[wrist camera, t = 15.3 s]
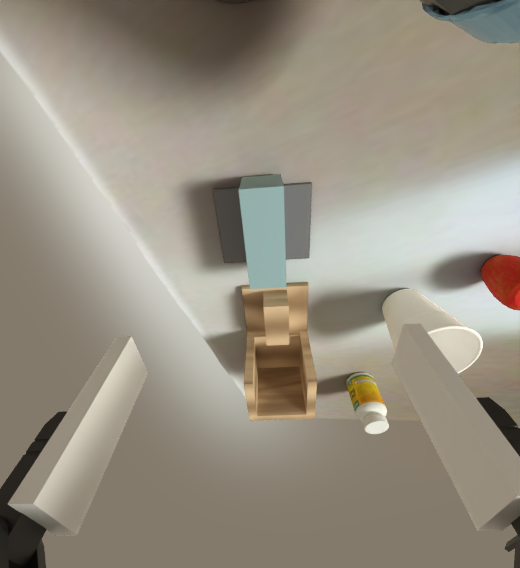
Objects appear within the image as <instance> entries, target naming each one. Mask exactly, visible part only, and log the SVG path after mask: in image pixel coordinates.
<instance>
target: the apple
mask: <svg viewBox="0 0 520 568" xmlns="http://www.w3.org/2000/svg"><path fill="white" fill-rule="evenodd" d="M480 271H481V276H482V279H483V281H484V282H485V284H486V286H487V287H488V289H489V290H490V292H491V293H492V294H493V296H494V297H495V298H496V299H498V300H499V301H500V302H501V303H502V304H504V305H505V306H507V307H509V308H511V309H514V310H520V257H517V256H511V255H497V256H495V257H492V258H491V259H489V260H488V261H486V263H485V264H484V265H483V266H482V268H481V270H480Z"/></svg>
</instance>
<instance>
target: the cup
mask: <svg viewBox="0 0 520 568" xmlns="http://www.w3.org/2000/svg"><path fill="white" fill-rule="evenodd" d="M382 311H383V315H384V318H385V321H386V324H387V327H388V330H389V333H390V336H391V339H392V343H393V346H394V349H395V351H396V348H397V344H398V341H399V338H400V334H401V331H402V328H403V325H404V324H418V323H420V324H421V325H422V326H423V328H424V329H425V330H426V332H427V333H428V334H429V336H430V337H431V338H432V340H433V341H434V342H435V344H436V345H437V346H438V348H439V349H440V351H441V352H442V353H443V355H444V356H445V357H446V359H447V360H448V361H449V363H450V364H451V365H452V367H453V368H454V369H455V371H456V372H457V373H460V372H462V371H463V370H465V369H466V368H468V367H469V366H470V365H472V364H473V363H474V362H475V361H476V359H477V358H478V357H479V355H480V353H481V351H482V348H483V341H482V339H481V336H480V335H479V334H478V333H477V332H476V331H474V330H473V329H471V328H468V327H466V326H465V325H463V324H462V323H461V322H459V321H458V320H456V319H455V318H454V317H452V316H451V315H449V314H448V313H447V312H445V311H444V310H442V309H441V308H440V307H438V306H437V305H436V304H434V303H433V302H432V301H430V300H429V299H428V298H426V297H425V296H424V295H422V294H421V293H419V292H418V291H416V290H413V289H402V290H398V291H396V292H394V293H392V294H391V295H389V296H388V297H387V298H386V300H385V301H384V303H383V306H382Z"/></svg>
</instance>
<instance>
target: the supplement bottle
mask: <svg viewBox="0 0 520 568" xmlns="http://www.w3.org/2000/svg"><path fill="white" fill-rule="evenodd" d="M347 388H348V391H349V394H350V397H351V400H352V404H353V407H354V410H355V413H356V416H357V418H358V419H359V420H361V421H362V422H363V426H364V429H365V431H366V432H367V433H370V434H379V433H382V432H384V431H386V430H387V429H388V427H389V425H388V422H387V419H386V418H385V416H386V413H387V410H386V407H385V404H384V402H383V400H382V397H381V395H380V393H379V390H378V388H377V385H376V383H375V381H374V378H373V377H372V376H371V375H370V374H368V373H364V372H360V373H356V374H353V375H351V376H350V377H349V378H348V379H347Z"/></svg>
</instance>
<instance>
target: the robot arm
mask: <svg viewBox="0 0 520 568" xmlns="http://www.w3.org/2000/svg"><path fill="white" fill-rule="evenodd" d="M216 1H220V2H226V3H241V2H247V1H250V0H216ZM420 1H421V2H422V6H423V9H424V10H425V11H426V12H427V13H428V14H429V15H430V16H432V17H434V18H435V19H438V20H443V21H450V22H452V23H453V24H455V25H456V26H458V27H459V28H461V29H462V30H464V31H465V32H467V33H469V34H470V35H472V36H473V37H475V38H476V39H478V40H481V41H483V42H487V43H516V42H520V0H420ZM392 365H393V367H394V369H395V371H396V373H397V375H398V377H399V379H400V381H401V383H402V385H403V387H404V389H405V390H406V392H407V394H408V396H409V398H410V400H411V402H412V404H413V406H414V408H415V410H416V412H417V414H418V416H419V418H420V420H421V422H422V424H423V426H424V427H425V429H426V431H427V433H428V435H429V437H430V439H431V441H432V443H433V445H434V447H435V449H436V451H437V453H438V454H439V457H440V459H441V461H442V462H443V465H444V466H445V468H446V470H447V472H448V474H449V476H450V478H451V480H452V482H453V484H454V486H455V488H456V490H457V492H458V494H459V496H460V498H461V500H462V501H463V504H464V505H465V507H466V509H467V511H468V513H469V515H470V517H471V519H472V521H473V523H474V525H475V527H476V529H477V530H478V531H485V530H486V531H491V530H504V529H505V528H506V527H508V526H509V525H510V524H512V526H513V527H514V529H515V531H516V532H517V534H518V535H517V536H516V537H514V538H513V539H511V540H510V541H508V542H507V544H506V546H505V549H506V550H507V551H508V552H509V551H511V550H513V549H514V548H515V560H514V568H520V429H519V428H518V425H517V424H516V423H515V422H514V420H513V419H512V418H511V417H510V415H509V414H508V413H507V412H506V411H505V410H504V409H503V408H502V407H501V406H499V405H498V404H497V403H495V402H494V401H493V400H492V399H490V398H489V397H487V398H476V397H475V396H474V395H473V393H472V392H471V391H470V389H469V388H468V387H467V385H466V384H465V383H464V381H463V380H462V379H461V377H460V376H459V375H458V373H457V372H456V371H455V369H454V368H453V367H452V365H451V364H450V363H449V361H448V360H447V359H446V357H445V356H444V355H443V353H442V352H441V351H440V349H439V348H438V346H437V345H436V344H435V342H434V341H433V340H432V338H431V337H430V336H429V334H428V333H427V332H426V330H425V329H424V328H423V326H422V325H421V324H420V323H418V324H404V325H403V328H402V331H401V334H400V338H399V341H398V344H397V348H396V351H395V354H394V358H393V361H392ZM147 374H148V372H147V370H146V367H145V365H144V363H143V361H142V359H141V356H140V354H139V352H138V350H137V348H136V345H135V343H134V341H133V339H132V337H131V336H126V337H116V338H115V340H114V341H113V343H112V344H111V346H110V347H109V349H108V351H107V352H106V353H105V355H104V357H103V358H102V360H101V361H100V363H99V364H98V366H97V367H96V369H95V370H94V372H93V373H92V375H91V376H90V378H89V379H88V381H87V383H86V384H85V386H84V387H83V389H82V391H81V392H80V393H79V395H78V396H77V398H76V400H75V401H74V403H73V404H72V406H71V407H70V409H69V410H68V412H58V413H57V414H56V415H55V416H54V417H53V418H52V419H50V420H49V421H48V422H47V423H46V424H45V425H44V427H43V428H42V430H41V431H40V432H39V434H38V435H37V437H36V438H35V441H34V442H33V443H32V444H31V445H30V447H29V448H28V450H27V451H26V454H25V455H23V457H22V458H21V460H20V461H19V463H18V464H17V466H16V467H15V468H14V470H13V471H12V473H11V474H10V476H9V477H8V478H7V480H6V481H5V483H4V484H3V486H2V487H1V489H0V568H46V564H45V552H44V545H43V542H42V540H41V539H42V537H43V535H44V533H45V531H46V530H48V531H49V532H51V533H52V534H54V535H77V533H78V531H79V529H80V527H81V524H82V522H83V520H84V518H85V515H86V513H87V511H88V508H89V506H90V504H91V502H92V499H93V497H94V495H95V492H96V490H97V488H98V486H99V483H100V481H101V479H102V476H103V474H104V472H105V470H106V467H107V465H108V463H109V461H110V458H111V456H112V454H113V451H114V449H115V447H116V444H117V442H118V440H119V438H120V436H121V433H122V431H123V429H124V426H125V424H126V422H127V420H128V417H129V415H130V413H131V410H132V408H133V406H134V404H135V401H136V399H137V397H138V395H139V392H140V390H141V388H142V385H143V383H144V381H145V379H146V376H147Z"/></svg>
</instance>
